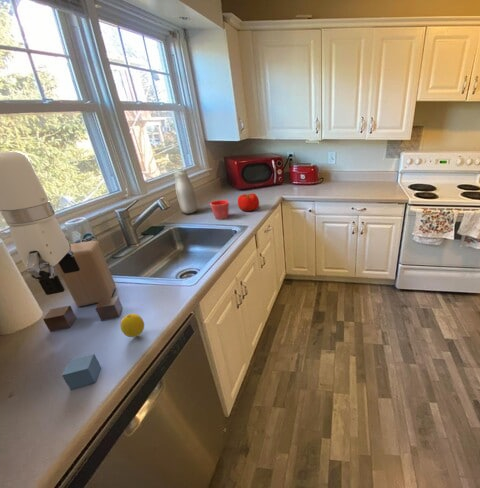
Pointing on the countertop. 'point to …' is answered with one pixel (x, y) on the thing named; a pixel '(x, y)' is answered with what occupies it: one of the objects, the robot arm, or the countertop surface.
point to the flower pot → (220, 209)
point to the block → (89, 274)
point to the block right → (109, 308)
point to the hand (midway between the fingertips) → (64, 281)
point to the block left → (59, 318)
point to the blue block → (81, 371)
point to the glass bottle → (185, 192)
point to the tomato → (248, 202)
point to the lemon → (132, 325)
